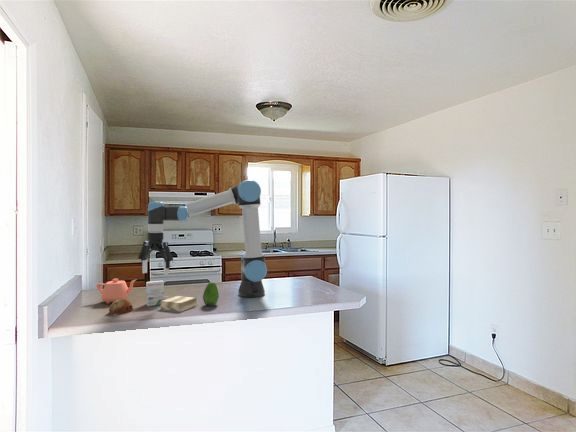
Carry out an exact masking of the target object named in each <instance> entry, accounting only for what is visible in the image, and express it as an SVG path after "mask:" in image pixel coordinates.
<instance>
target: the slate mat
mask: <svg viewBox="0 0 576 432" xmlns="http://www.w3.org/2000/svg"><path fill="white" fill-rule="evenodd" d="M196 306H198V304H196ZM196 306H194V307H193V308H195V307H196ZM148 310H153V311H161V312H163V311H164V312H169V313H177V314H178V313H181V312H183V311H181V312H180V311H172V310H164V309H161V305H154V306H153V307H152V306H151V307H149V308H148Z"/></svg>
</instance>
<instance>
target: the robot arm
mask: <svg viewBox="0 0 576 432" xmlns="http://www.w3.org/2000/svg"><path fill="white" fill-rule="evenodd" d="M261 193H262V189H261V186H260V184H259V183H258V182H257V181H255V180H253V179H245V180H242V181H241V182H240V183H238V184H237V185H235V186H232V187H229V188H228V190H225V191H222V192H219V193H216V194H212V195H210V196H205V197H203V198H199V199H197V200H194V201H190V202H186V203H184V204H180V205H173V206H172V205H165V204H164V202H163V201H151V202H148V204H147V206H148V208H147V232H148V233H147V240H145V241H143V242H142V244H143V245H142V247H141V250H140V252H139V254H138V257H137V258H138V259H139V260H141V268H142V269H141V270H142V274H147V273H148V257H149V256H150V254H151V253H152V252H153V251H155V252H156V251H157V252H159V254H160V255H161V258H162V259H163V260H164V262H163V276H168V275H169V272H170V271H169V269H170V266H171V265H170V264H171V262H172V261H173V260H174V257H173V254H172V253H171V249H170V247H169V242H168V241H165V242H164V241H163V240H164V223H165V222H164V221H166V222H167V221H169V222H170V221H174V222H179V221H180V222H183V221H187V220H188V218H189V217H192V216H196V215H198V214H203V213H206V212H209V211H212V210H216V209H219V208H223V207H225V206H228V205H231V204H233V205H237V204H238V206H239V208H240V209H241V210H242V211H241V213H242V225H243V227H242V228H243V237H244V238H243V239H244V250H245V253H244V254H243V255H241V257H240V258H241V259H240V262H241V267H240V269H241V270H240V271H241V273H240V275H241V276H240V277H241V280H240V285H239V287H238V294H237V296H239V297H243V298H259V297H263V296H265V293H266V292H265V288H264V285H263V279H265V277H266V276H267V273H268V267H267V265H266V258H265V254H264V253H263V252H262V244H261V243H262V242H261V241H262V240H261V229H260V217H259V207H260V206H261Z"/></svg>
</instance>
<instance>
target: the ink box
mask: <svg viewBox="0 0 576 432" xmlns="http://www.w3.org/2000/svg"><path fill="white" fill-rule="evenodd" d="M145 292H146V306H147V307H152V306H153V307H154V306H158V305H161V301H162V300H165V282H164V280H155V281H146V283H145Z"/></svg>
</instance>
